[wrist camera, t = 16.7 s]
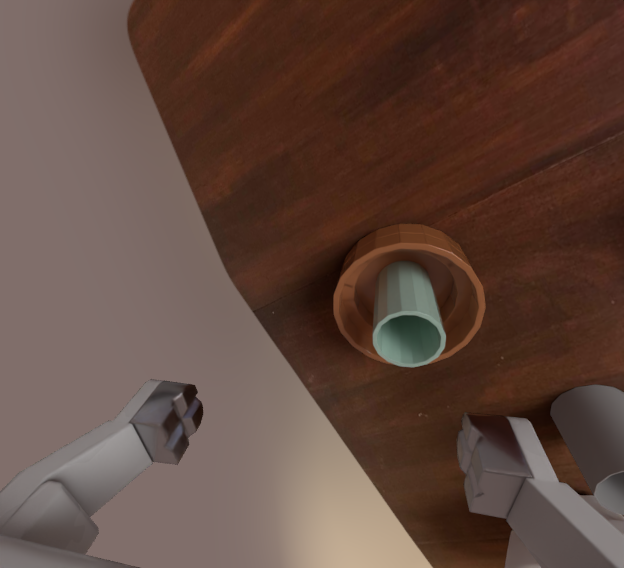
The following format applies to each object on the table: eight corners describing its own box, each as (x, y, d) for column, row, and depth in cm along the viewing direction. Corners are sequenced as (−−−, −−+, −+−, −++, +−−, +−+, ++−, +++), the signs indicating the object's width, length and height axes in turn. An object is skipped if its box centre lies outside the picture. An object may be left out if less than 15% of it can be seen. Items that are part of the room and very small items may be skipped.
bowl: (465, 478, 50) (485, 570, 40) (639, 456, 41) (720, 567, 31) (511, 550, 57) (537, 643, 47) (669, 545, 48) (742, 659, 38)
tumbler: (368, 296, 37) (362, 353, 29) (388, 253, 34) (388, 301, 25) (416, 313, 37) (425, 375, 28) (441, 271, 34) (459, 326, 25)
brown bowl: (325, 309, 40) (316, 338, 35) (365, 203, 33) (361, 221, 27) (432, 347, 39) (439, 382, 34) (497, 248, 32) (518, 275, 27)
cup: (534, 411, 41) (573, 491, 32) (590, 374, 37) (652, 455, 28) (588, 440, 41) (641, 526, 33) (650, 406, 37) (728, 495, 29)
